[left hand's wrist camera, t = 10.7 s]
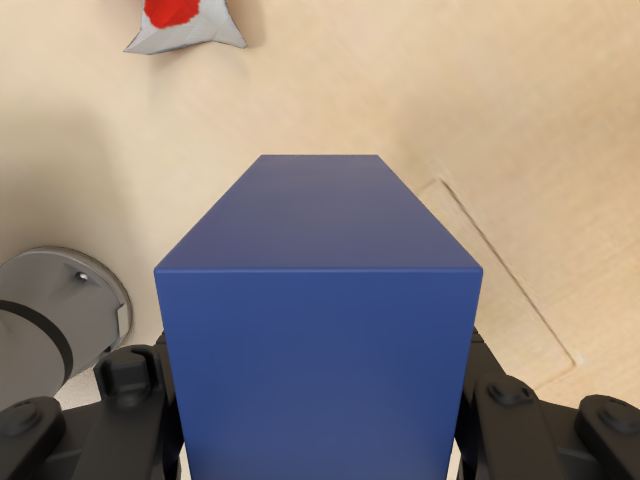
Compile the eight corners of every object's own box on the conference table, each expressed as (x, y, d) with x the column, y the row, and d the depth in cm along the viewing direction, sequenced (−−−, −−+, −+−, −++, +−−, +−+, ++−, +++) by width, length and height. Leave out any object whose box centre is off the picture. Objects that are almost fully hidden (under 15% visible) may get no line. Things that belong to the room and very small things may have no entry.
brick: (368, 328, 19) (425, 605, 9) (270, 328, 19) (213, 605, 9) (378, 154, 16) (486, 269, 6) (260, 154, 16) (150, 269, 6)
